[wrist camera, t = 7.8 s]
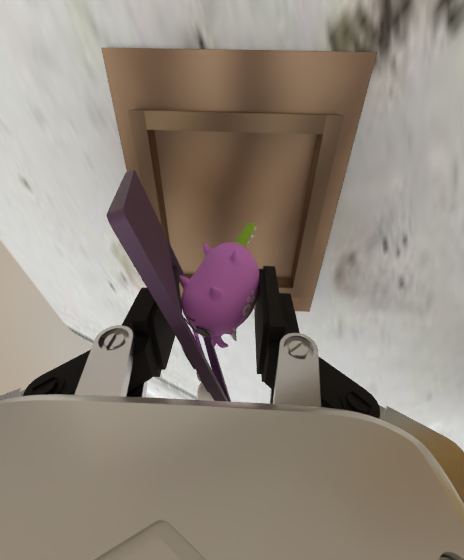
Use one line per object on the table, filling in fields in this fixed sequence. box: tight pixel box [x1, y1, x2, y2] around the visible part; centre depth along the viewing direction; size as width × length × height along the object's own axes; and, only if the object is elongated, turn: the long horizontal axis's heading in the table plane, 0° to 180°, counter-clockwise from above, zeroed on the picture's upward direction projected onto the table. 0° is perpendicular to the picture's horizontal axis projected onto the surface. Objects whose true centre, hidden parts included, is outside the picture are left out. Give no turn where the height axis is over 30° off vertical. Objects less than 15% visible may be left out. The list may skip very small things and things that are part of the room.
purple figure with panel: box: [107, 170, 260, 402], centre depth 11 cm, size 7×5×9 cm
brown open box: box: [102, 48, 377, 312], centre depth 21 cm, size 16×20×3 cm
